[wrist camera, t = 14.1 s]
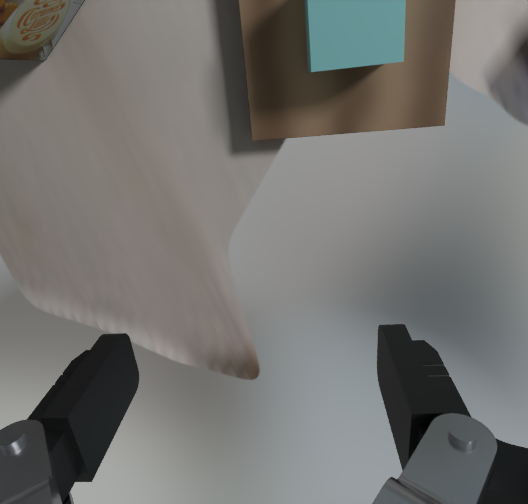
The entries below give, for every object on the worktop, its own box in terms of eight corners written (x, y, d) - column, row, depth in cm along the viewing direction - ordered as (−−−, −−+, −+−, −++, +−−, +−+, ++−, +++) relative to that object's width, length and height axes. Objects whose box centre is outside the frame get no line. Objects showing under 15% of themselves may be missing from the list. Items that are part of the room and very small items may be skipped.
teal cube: (308, 72, 32) (311, 72, 27) (303, -16, 30) (305, -36, 24) (384, 63, 32) (403, 61, 26) (385, -27, 29) (407, -50, 24)
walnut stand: (255, 135, 38) (252, 140, 35) (235, -77, 31) (229, -92, 28) (432, 121, 36) (444, 125, 33) (450, -106, 30) (466, -124, 27)
